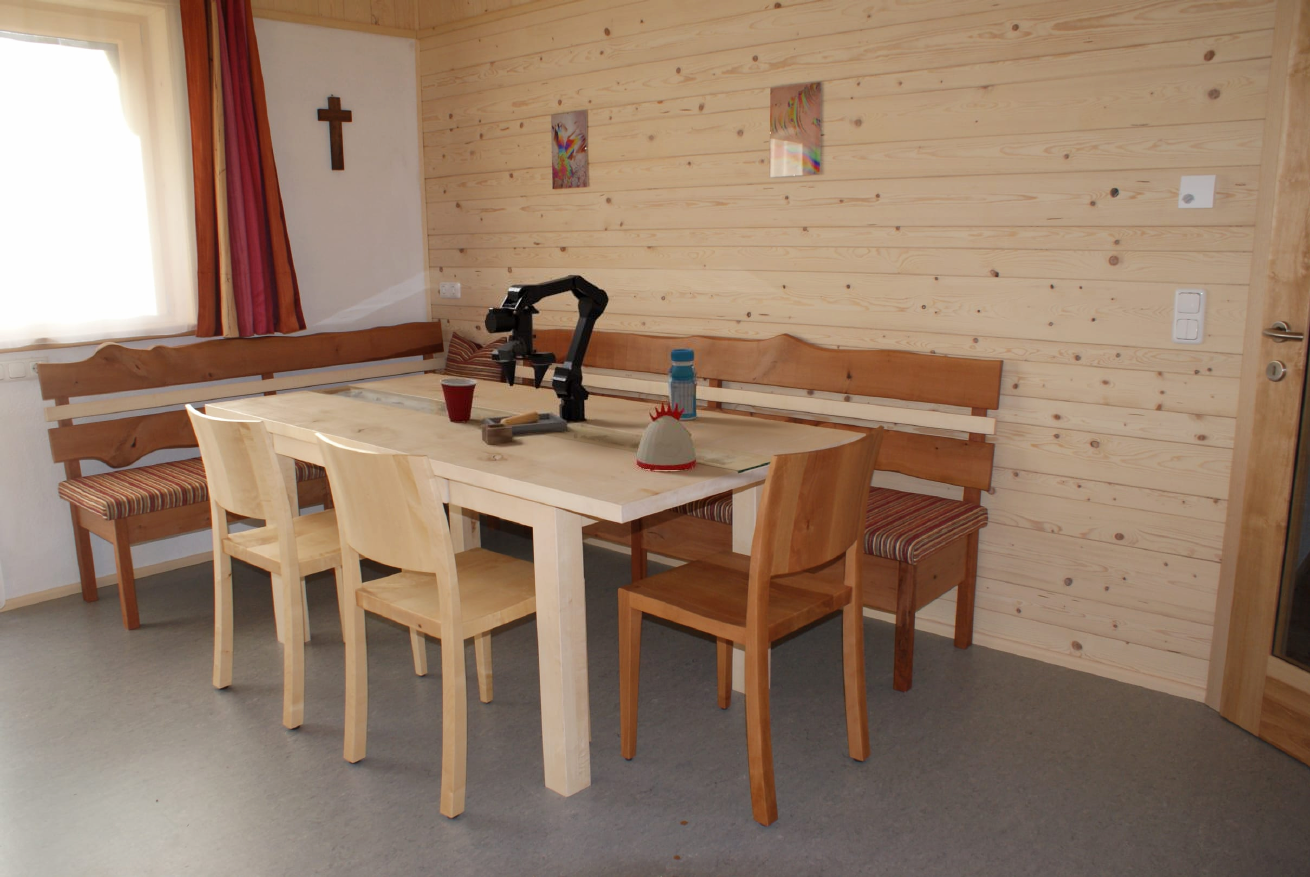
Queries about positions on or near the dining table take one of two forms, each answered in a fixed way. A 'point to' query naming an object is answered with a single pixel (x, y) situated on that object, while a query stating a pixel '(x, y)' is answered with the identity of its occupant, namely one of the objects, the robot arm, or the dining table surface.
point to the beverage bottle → (683, 383)
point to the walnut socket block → (497, 433)
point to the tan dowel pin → (522, 419)
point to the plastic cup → (458, 397)
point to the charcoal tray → (534, 424)
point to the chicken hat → (666, 443)
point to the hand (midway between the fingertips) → (524, 387)
